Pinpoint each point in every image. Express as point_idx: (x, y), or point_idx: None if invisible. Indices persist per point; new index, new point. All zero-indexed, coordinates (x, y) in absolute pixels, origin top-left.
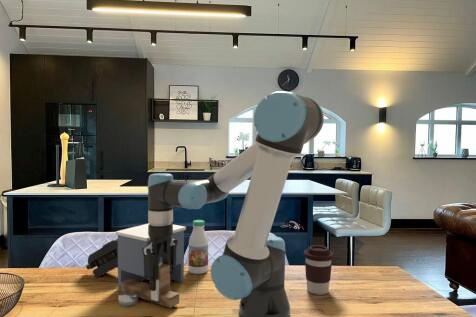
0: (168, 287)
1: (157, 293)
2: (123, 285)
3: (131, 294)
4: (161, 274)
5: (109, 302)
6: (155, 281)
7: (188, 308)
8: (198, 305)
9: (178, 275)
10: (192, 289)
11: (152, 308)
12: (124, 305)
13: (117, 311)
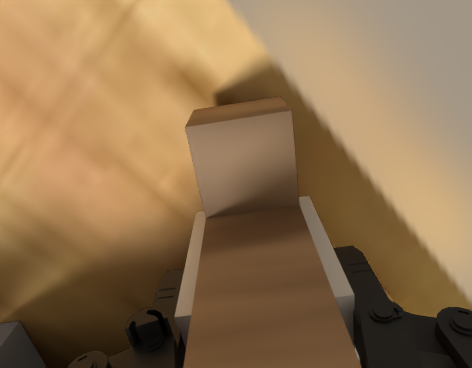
0: (216, 232)
1: (320, 222)
2: None
3: None
4: (332, 328)
5: None
6: (356, 299)
7: (171, 31)
8: (90, 12)
9: (5, 364)
10: (4, 221)
11: (319, 193)
12: (390, 298)
13: (439, 279)
